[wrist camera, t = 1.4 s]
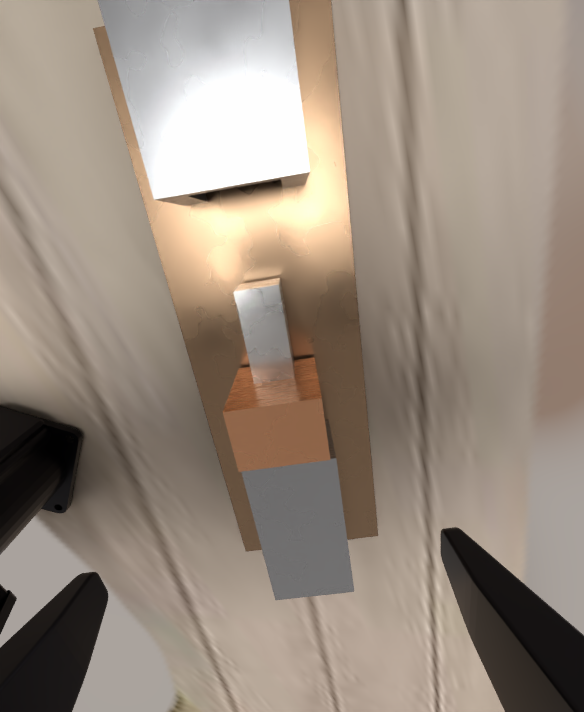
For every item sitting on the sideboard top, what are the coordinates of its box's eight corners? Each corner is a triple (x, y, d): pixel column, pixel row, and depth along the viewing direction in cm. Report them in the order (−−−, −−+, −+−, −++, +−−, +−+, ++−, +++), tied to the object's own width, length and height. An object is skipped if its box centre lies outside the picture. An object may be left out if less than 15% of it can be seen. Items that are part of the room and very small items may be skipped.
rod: (338, 524, 21) (349, 594, 17) (277, 531, 22) (274, 602, 17) (302, 273, 16) (306, 289, 12) (219, 287, 16) (194, 308, 12)
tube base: (376, 529, 23) (394, 592, 19) (246, 544, 23) (237, 609, 19) (327, -12, 13) (343, -120, 9) (100, 35, 13) (18, -47, 9)
